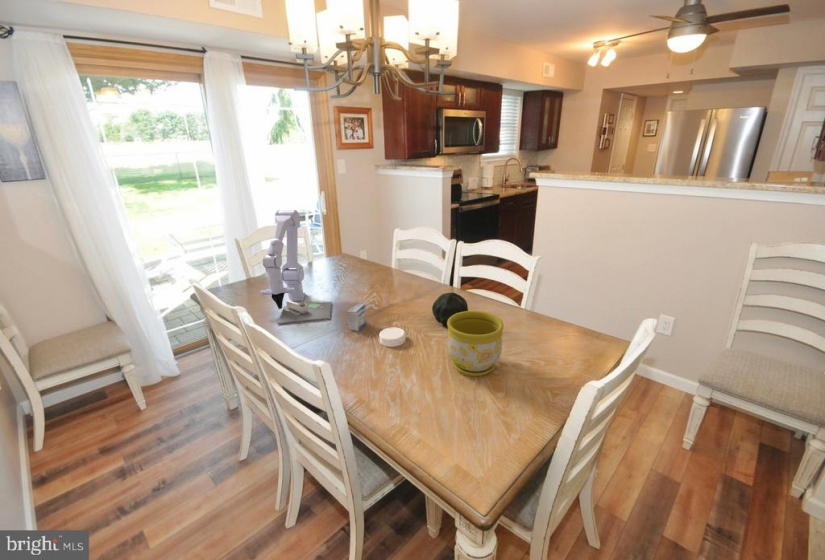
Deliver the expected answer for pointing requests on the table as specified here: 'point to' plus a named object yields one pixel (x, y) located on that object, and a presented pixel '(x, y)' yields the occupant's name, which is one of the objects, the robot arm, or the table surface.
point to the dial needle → (297, 307)
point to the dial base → (314, 313)
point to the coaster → (392, 337)
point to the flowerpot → (474, 341)
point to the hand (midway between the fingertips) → (280, 308)
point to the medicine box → (356, 317)
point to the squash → (448, 306)
